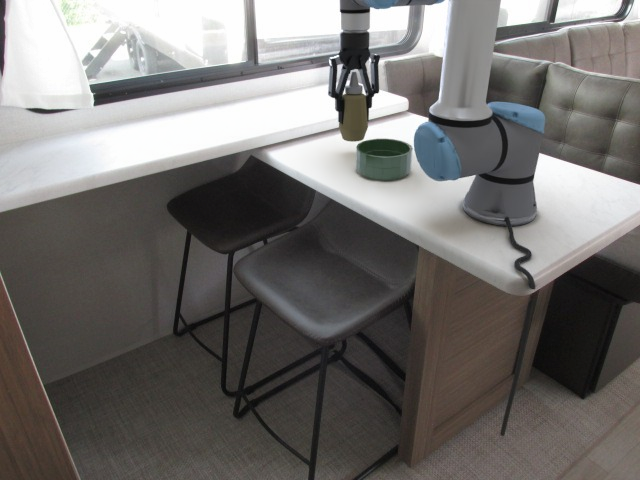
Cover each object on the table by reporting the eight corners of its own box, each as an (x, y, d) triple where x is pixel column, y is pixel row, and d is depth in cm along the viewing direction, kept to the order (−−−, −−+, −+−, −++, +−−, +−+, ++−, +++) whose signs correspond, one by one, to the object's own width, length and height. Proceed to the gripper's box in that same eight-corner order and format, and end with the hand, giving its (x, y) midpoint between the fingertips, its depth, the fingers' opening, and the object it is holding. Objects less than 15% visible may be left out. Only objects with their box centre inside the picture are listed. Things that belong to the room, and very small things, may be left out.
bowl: (420, 177, 130) (422, 153, 127) (369, 185, 126) (369, 160, 123) (395, 158, 142) (396, 136, 138) (347, 165, 138) (348, 142, 135)
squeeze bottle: (370, 135, 144) (371, 69, 136) (365, 144, 138) (366, 75, 129) (342, 133, 146) (342, 68, 137) (335, 142, 139) (335, 74, 131)
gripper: (383, 27, 134) (380, 114, 145) (313, 31, 129) (315, 121, 140) (396, 30, 128) (391, 121, 139) (323, 35, 123) (324, 129, 134)
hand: (353, 121), depth 139 cm, fingers closed on squeeze bottle, 6 cm apart
